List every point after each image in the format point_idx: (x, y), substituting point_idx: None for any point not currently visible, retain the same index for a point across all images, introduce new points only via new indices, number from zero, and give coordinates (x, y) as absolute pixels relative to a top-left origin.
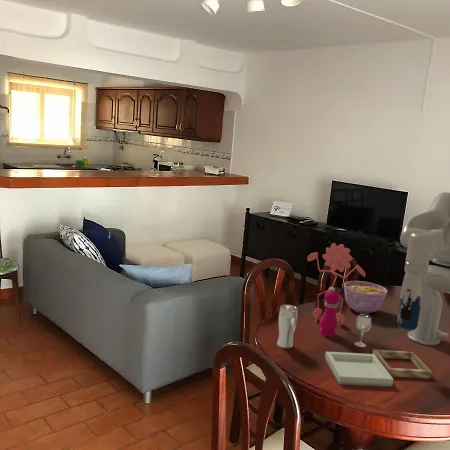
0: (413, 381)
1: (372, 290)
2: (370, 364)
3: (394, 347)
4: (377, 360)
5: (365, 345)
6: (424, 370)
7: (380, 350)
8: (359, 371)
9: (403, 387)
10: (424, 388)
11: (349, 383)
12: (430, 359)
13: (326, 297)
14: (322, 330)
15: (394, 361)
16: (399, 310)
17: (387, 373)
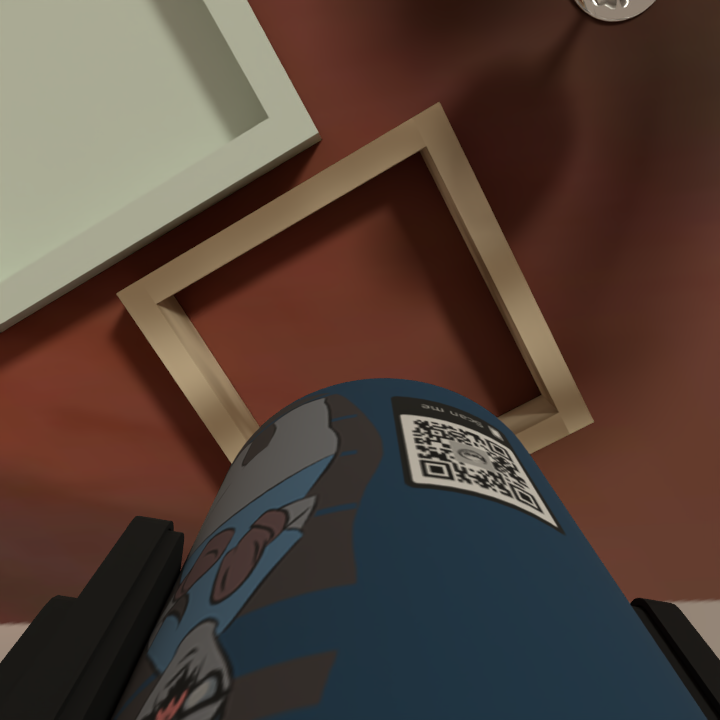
0: (184, 449)
1: None
2: (202, 133)
3: (714, 262)
4: (206, 183)
5: (615, 13)
6: None
7: (458, 172)
8: (4, 70)
9: (47, 402)
10: (133, 515)
11: None
12: (620, 519)
13: None
14: None
15: (430, 297)
16: (270, 529)
17: (16, 297)
